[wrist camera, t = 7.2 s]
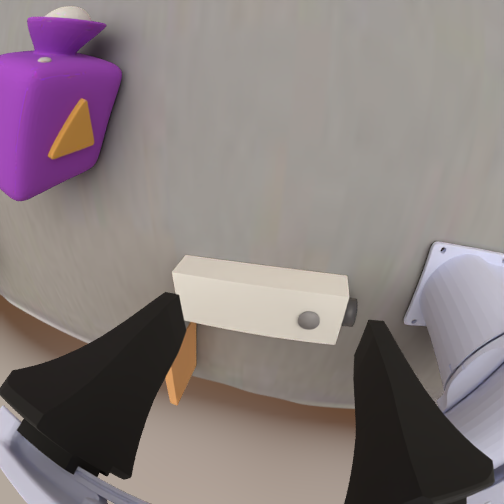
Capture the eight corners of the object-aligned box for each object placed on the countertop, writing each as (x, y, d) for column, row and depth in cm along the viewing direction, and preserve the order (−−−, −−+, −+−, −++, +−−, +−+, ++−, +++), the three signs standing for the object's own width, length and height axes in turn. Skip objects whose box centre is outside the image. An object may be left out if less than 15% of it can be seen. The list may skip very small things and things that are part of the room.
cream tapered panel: (359, 277, 20) (363, 301, 17) (345, 324, 22) (346, 349, 20) (185, 254, 22) (170, 274, 20) (192, 301, 25) (180, 322, 23)
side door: (188, 304, 25) (160, 351, 20) (196, 307, 25) (169, 354, 20) (190, 362, 30) (170, 403, 25) (196, 365, 30) (177, 405, 25)
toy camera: (152, 11, 13) (49, -17, 4) (118, 173, 20) (24, 225, 12) (65, 22, 13) (-21, 24, 5) (45, 151, 21) (-32, 186, 12)
